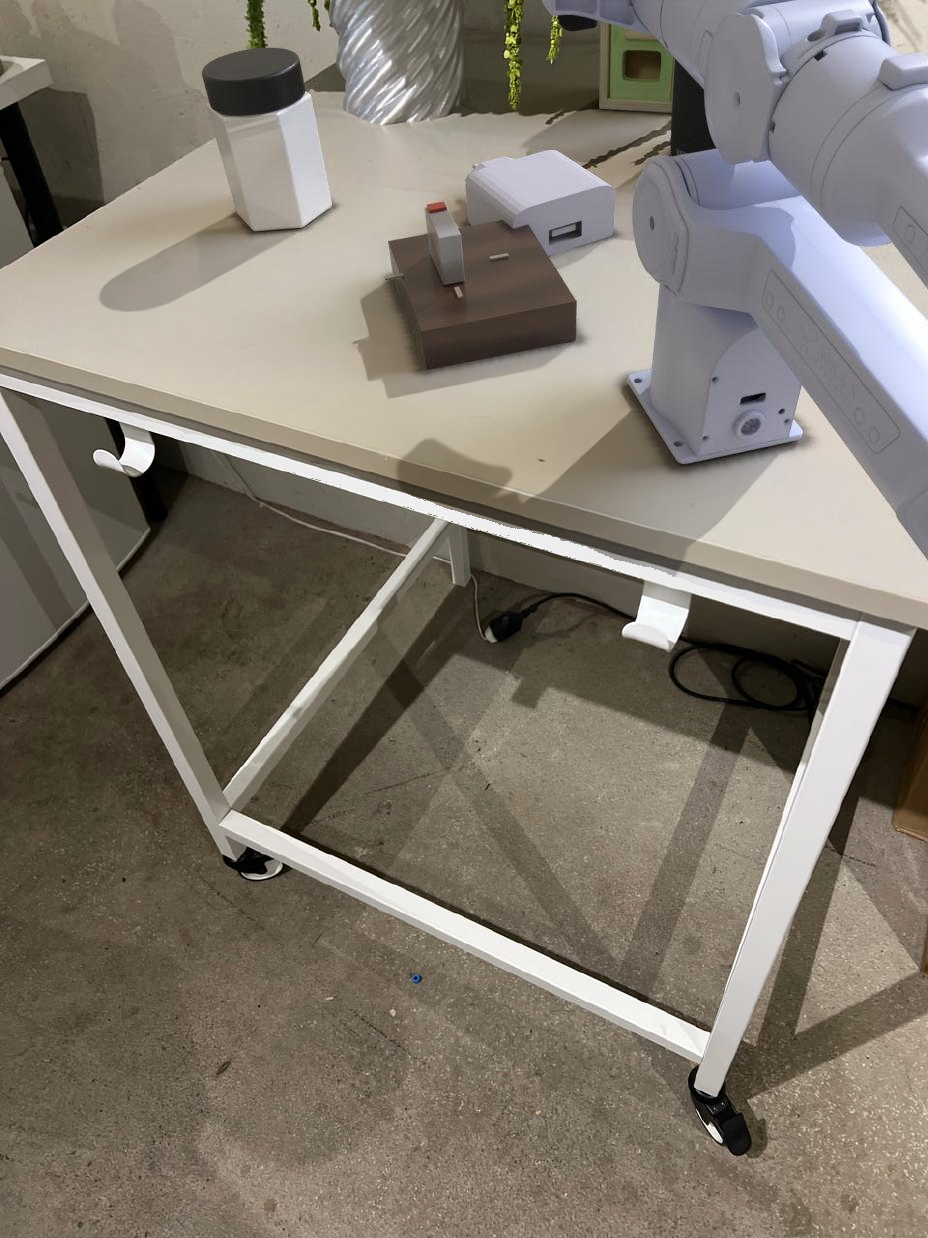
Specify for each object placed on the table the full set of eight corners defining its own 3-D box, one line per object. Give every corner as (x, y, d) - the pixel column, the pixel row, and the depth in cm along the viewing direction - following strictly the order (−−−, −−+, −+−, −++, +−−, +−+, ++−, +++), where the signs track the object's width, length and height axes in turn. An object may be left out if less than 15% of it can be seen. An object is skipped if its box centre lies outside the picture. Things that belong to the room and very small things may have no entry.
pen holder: (657, 141, 83) (666, 19, 76) (755, 131, 83) (775, 7, 75) (676, 182, 77) (689, 54, 70) (782, 172, 77) (807, 42, 69)
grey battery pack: (465, 281, 63) (460, 230, 60) (443, 285, 62) (438, 234, 60) (450, 249, 66) (445, 199, 63) (429, 253, 66) (423, 203, 63)
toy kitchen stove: (594, 111, 90) (599, -45, 80) (616, 85, 94) (622, -66, 84) (676, 117, 87) (691, -44, 77) (694, 90, 91) (711, -65, 81)
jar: (337, 187, 82) (310, 41, 73) (327, 227, 77) (297, 75, 68) (245, 195, 83) (206, 51, 74) (229, 234, 78) (185, 85, 69)
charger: (528, 178, 81) (613, 240, 72) (439, 203, 79) (515, 271, 70) (527, 123, 78) (616, 181, 69) (434, 149, 76) (513, 212, 66)
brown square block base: (576, 340, 62) (577, 298, 60) (409, 373, 61) (403, 332, 59) (524, 252, 71) (523, 213, 69) (378, 279, 70) (372, 241, 68)
